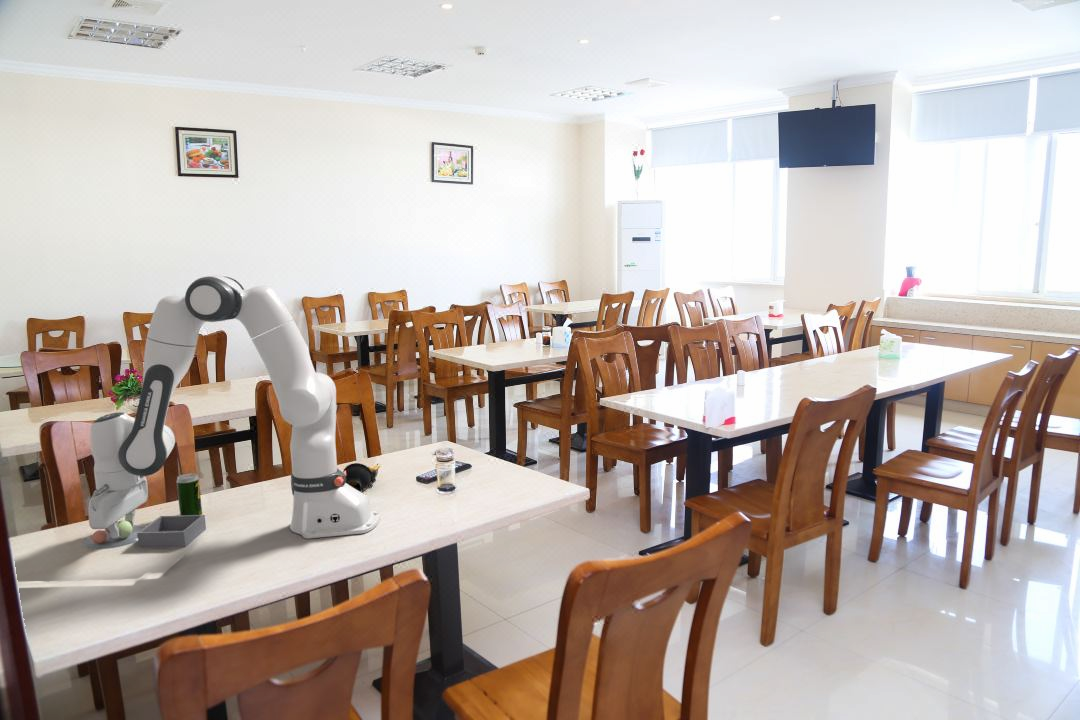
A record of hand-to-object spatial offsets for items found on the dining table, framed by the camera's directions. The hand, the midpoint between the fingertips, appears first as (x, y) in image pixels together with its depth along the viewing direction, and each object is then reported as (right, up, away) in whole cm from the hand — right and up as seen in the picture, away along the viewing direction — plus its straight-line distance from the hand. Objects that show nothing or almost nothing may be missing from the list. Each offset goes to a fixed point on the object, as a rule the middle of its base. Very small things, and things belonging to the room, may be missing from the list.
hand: (122, 532), depth 187 cm
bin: (+13, -2, -1) cm, 13 cm away
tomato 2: (-5, -1, +4) cm, 7 cm away
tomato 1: (-4, -2, -3) cm, 5 cm away
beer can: (+10, 0, +15) cm, 18 cm away
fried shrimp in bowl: (+51, +5, +39) cm, 65 cm away
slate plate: (-2, -2, +1) cm, 3 cm away
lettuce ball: (0, -1, 0) cm, 1 cm away
